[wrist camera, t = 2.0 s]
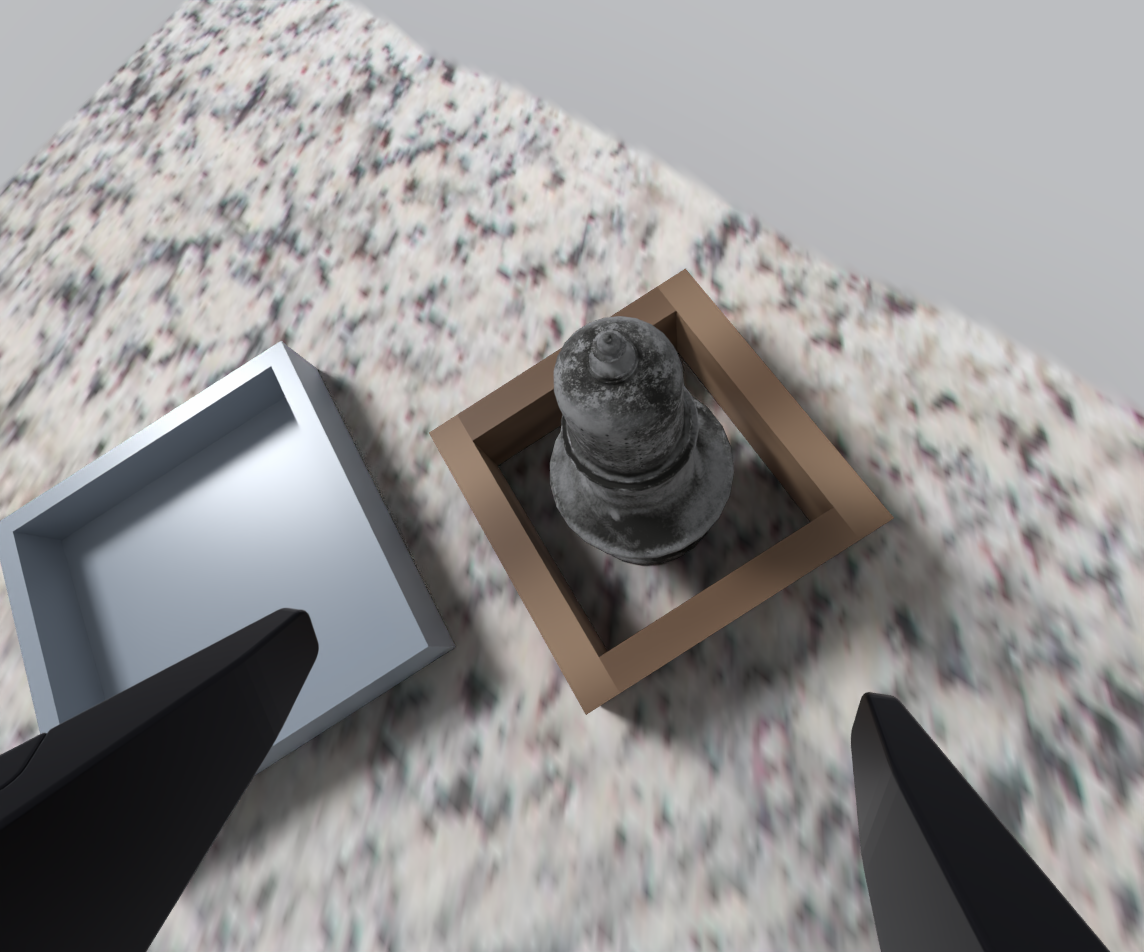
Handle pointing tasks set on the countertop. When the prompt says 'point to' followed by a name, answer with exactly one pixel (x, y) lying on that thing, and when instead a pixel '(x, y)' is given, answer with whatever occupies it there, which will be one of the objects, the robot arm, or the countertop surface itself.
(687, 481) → the salt shaker
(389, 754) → the countertop surface
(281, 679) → the robot arm
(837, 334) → the countertop surface
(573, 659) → the socket block
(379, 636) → the tray
